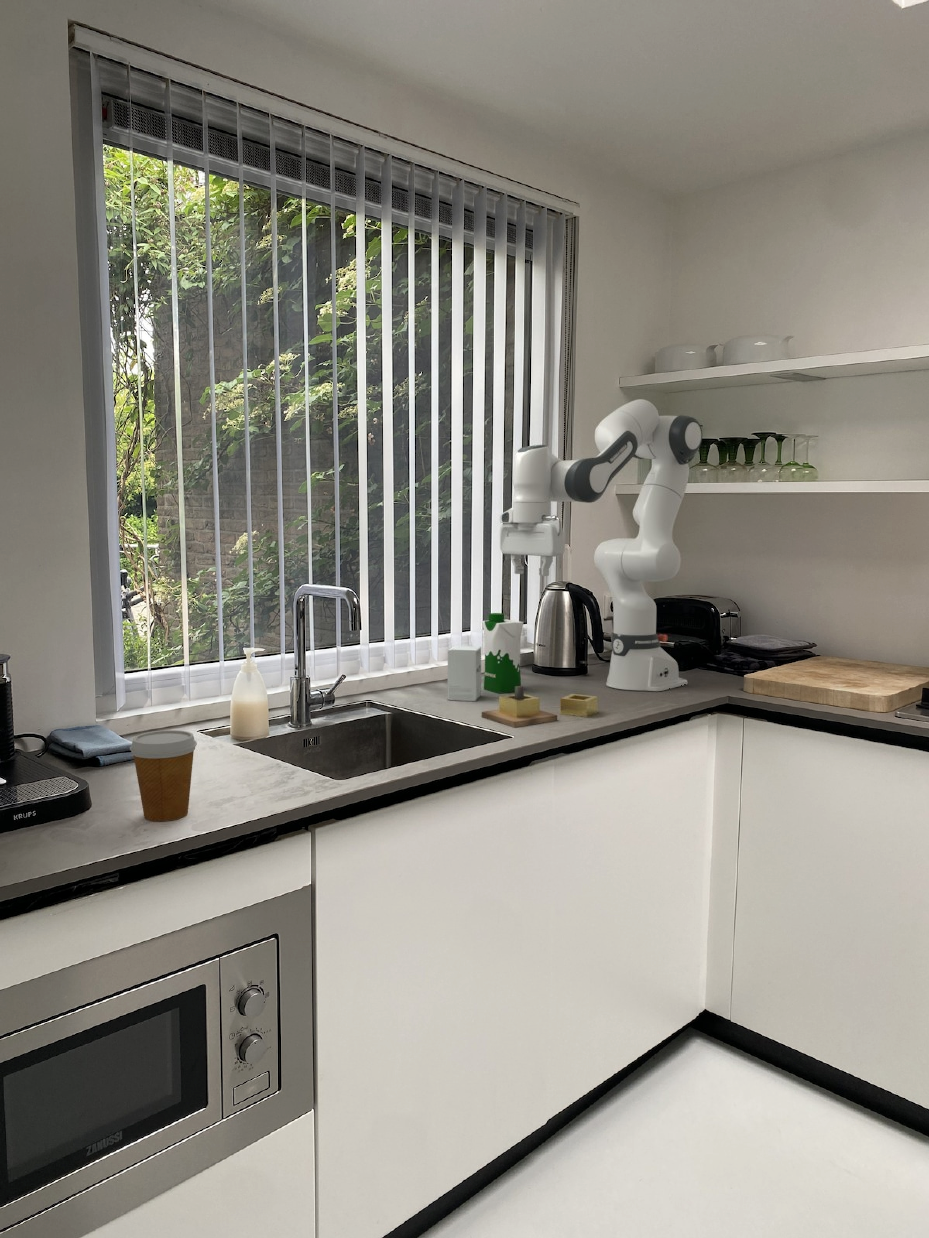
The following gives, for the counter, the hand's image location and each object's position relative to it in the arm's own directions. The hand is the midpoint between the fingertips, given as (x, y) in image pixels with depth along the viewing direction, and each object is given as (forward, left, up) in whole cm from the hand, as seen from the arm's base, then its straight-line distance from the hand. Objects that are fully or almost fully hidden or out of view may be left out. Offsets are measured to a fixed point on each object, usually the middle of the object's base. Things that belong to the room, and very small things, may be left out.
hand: (531, 574), depth 212 cm
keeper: (+11, +10, -31) cm, 34 cm away
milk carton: (-6, -19, -31) cm, 37 cm away
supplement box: (+8, -16, -31) cm, 36 cm away
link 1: (+11, +10, -30) cm, 33 cm away
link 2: (-4, +13, -31) cm, 34 cm away
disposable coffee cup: (+95, +32, -31) cm, 105 cm away
